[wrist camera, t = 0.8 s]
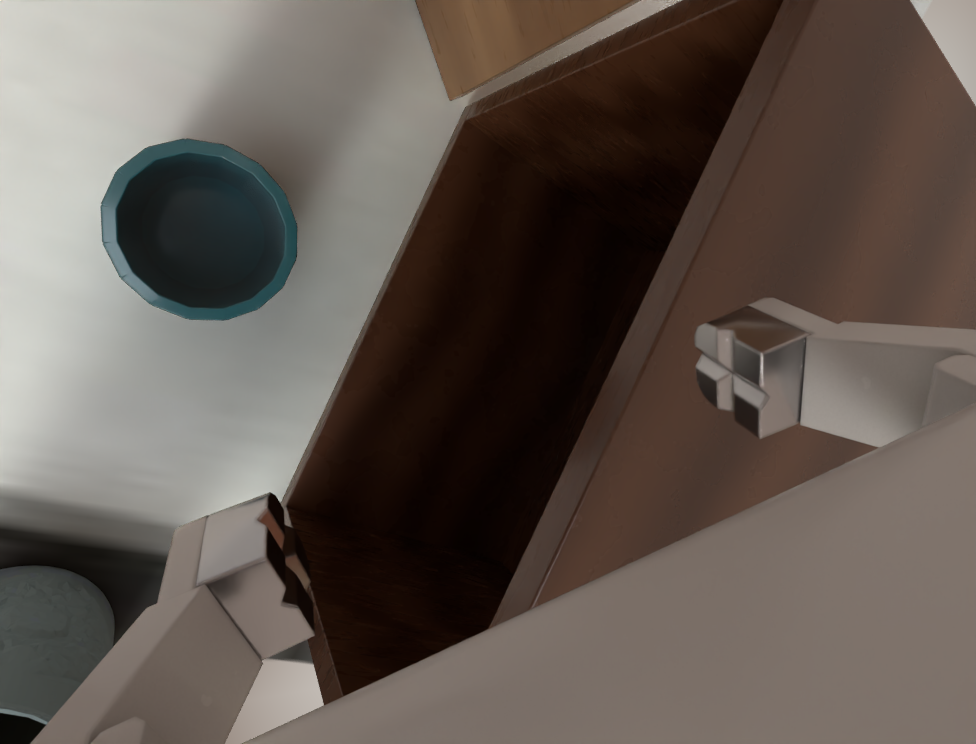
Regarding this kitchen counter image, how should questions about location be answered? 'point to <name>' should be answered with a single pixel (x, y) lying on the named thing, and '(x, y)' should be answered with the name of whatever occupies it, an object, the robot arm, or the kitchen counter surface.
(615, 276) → the cupboard
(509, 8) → the cupboard door
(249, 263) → the cup
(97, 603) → the grey mug
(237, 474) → the kitchen counter surface
